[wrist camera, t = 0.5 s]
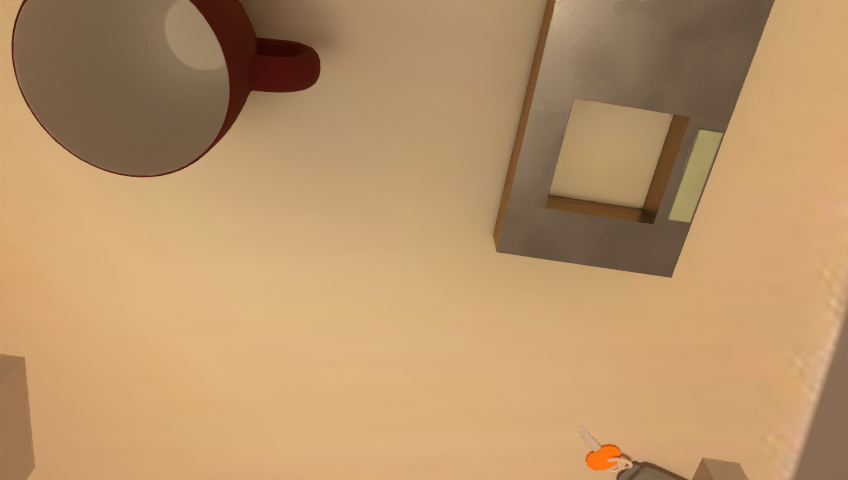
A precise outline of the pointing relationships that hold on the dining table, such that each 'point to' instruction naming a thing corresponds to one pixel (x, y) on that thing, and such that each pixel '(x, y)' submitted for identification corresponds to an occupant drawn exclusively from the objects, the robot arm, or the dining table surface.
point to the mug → (146, 76)
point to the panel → (633, 87)
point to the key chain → (634, 475)
